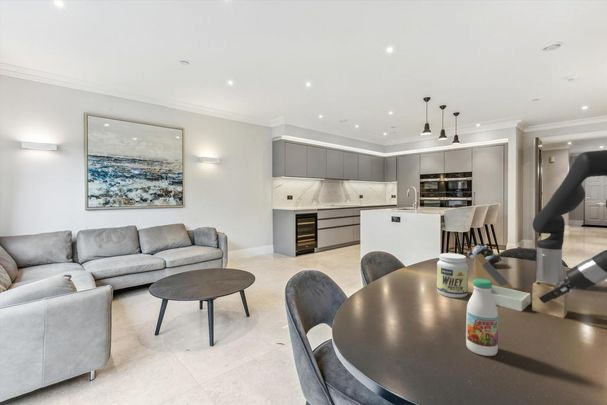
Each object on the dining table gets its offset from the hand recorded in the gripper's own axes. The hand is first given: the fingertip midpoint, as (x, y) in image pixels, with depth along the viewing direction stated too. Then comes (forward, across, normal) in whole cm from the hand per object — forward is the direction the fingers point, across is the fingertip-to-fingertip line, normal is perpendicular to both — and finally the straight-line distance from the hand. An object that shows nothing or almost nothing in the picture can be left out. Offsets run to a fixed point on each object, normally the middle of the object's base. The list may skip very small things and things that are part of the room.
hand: (543, 298), depth 110 cm
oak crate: (+2, 0, +4) cm, 5 cm away
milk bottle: (+7, +47, 0) cm, 47 cm away
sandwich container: (+17, -12, -10) cm, 24 cm away
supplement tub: (+25, +7, -18) cm, 31 cm away
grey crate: (+12, +1, -6) cm, 13 cm away
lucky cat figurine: (+31, -55, -24) cm, 67 cm away
